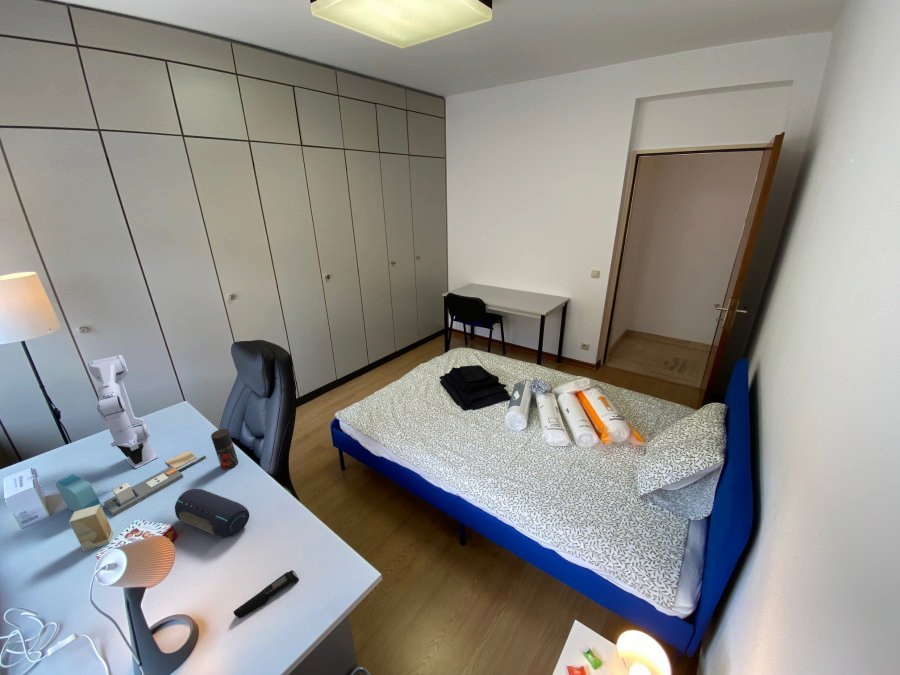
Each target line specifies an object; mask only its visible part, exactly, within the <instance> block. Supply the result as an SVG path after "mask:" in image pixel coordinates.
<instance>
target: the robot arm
mask: <svg viewBox="0 0 900 675" xmlns="http://www.w3.org/2000/svg"><path fill="white" fill-rule="evenodd" d="M87 365H88V370H89V372H90V373H91V375H92V377H93V378H94V379H95V380H96V381H97V382H98V383H100V385H99V386H98V388H97V396H98V402H96V403H95V406H96V410H97V412H98V414H99V416H100V417H101V418H102V421H103V422H104V423H105V424H106V426H107V428H108V430H109V433H110V434H111V436H112V437H111V438H112V439H113V442H111V443H110V446H111V447H113V448H115V447H116V448H118V449H119V450H120V451H121V452H122V454H123V456H125V457H126V458H127V459H126V461H127V463H129V465H131V467H133V468H134V469H138V468H140V467H142V466H145V465H147V464H148V463H151V462H152V461H154V460H156V459H158V458H159V455H158V454H156V453H155V452H154V450H153V448H152V446H151V443H150V441H149V439H148V438H150V437H151V431H150V428H149V426H148V423H147V422H146V421H147V420H145V419H144V418H141V417H137V416H135V414H134V411H133V410H134V409H133V408H132V407H133V406H132V404H131V402H130V398H129V395H128V391H127V390H126V389H127V388H126V387H125V383H124V382H125V378H126V377H127V376H128V375H129V370H128V366H127V364H126V360H125V357H124V356H123V355H121V354H118V355H114V356H110V357H106V358H105V357H104V358H99V359H95V360H90V361H89V362H88V363H87Z"/></svg>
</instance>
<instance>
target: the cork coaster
mask: <svg viewBox="0 0 900 675" xmlns="http://www.w3.org/2000/svg"><path fill="white" fill-rule="evenodd" d="M197 458H198V457H197V456H196V455H195V454H193V453H192V452H190V451H189V450H186V451H184V452H181V453H180V454H178V455H176V456H174V457H172V458H170V459H168V460H167V461H165V464H167V465H168V466H169V467H170V466H173V467H174V468H175V469H177V470H178V469H180V468H182V467H184V466H186V465H188V464H189V463H190V462H193V461H195V460H197Z"/></svg>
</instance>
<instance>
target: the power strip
mask: <svg viewBox="0 0 900 675" xmlns="http://www.w3.org/2000/svg"><path fill="white" fill-rule="evenodd" d="M206 458H207V456H206V455H203V456H201V457H200V458H198V459H195V460H193V461H191V463H190V462H189V463H187V464H186V465H184V466H182V467H180V468H177V469H175V468H174V467H173V466H169V467H167V468H165V469H162V470H160V471H159V472H158V473H156V474H154V475H152V476H150V477H148V478H146V479H144V480H142V481H140V482H139V483H137V484H135V485H133V486H131V489H132V491H133V493H134V494H136V495H137V496H135V497H136V498H134V499H132V500H131V501H129V502H127V503H125V504H123V505H122V506H121V505H119V506H118V505H117V504H116V502H118V501H117V499H116V497H115V495H114V496H112V497H110V498H108V499H107V500H105V501H103V505H104V506H105V508H107V510H108V511H109V513H111V515H112V516H114V517H116V516H117V515H119V514H121V513H123V512H124V511H126V510H129V509H131V507H134V506H135V505H137V504H138V503H141V502H143V501H144V500H145V499H147V498H150V497H151V496H153V495H155V494H157V493H158V492H160V491H161V490H164V489H166V488H167V487H169V486H170V485H172V484H174V483H176V482H178V481H179V480H181V479H183V478H184V474H183V473H182V471H184V470H186V469H188V468H191V467H192V466H194V465H196V464H197V463H199V462H201V461H203V460H204V459H206Z"/></svg>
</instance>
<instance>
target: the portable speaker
mask: <svg viewBox="0 0 900 675" xmlns="http://www.w3.org/2000/svg"><path fill="white" fill-rule="evenodd" d="M174 513H175V517H176V518H177V519H178V520H180V521H181V522H183V523H187V524H189V525H190V526H192V527H195V528H198V529H200V530H202V531H205V532H206V533H207V532H208V533H210V534H211V535H213V536H216V537H218V538H221V539H227V538H230V537H233V536H236V535H237V534H239V533H240V532H242V530H243V529H244V528H245V527H246V525H247V524H248V521H249V519H250V512H249V509H248V508H247V507H246V506H245V505H243V504H241V503H239V502H237V501H236V500H235V501H234V500H232V499H229V498H227V497H224V496H222V495H218V494H216V493H213V492H210V491H207V490H205V489H202V488H191V489H188V490H185V491H184V492H183V493H182V494H180V495H179V497H178V498H177V500H176V501H175V505H174Z"/></svg>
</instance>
